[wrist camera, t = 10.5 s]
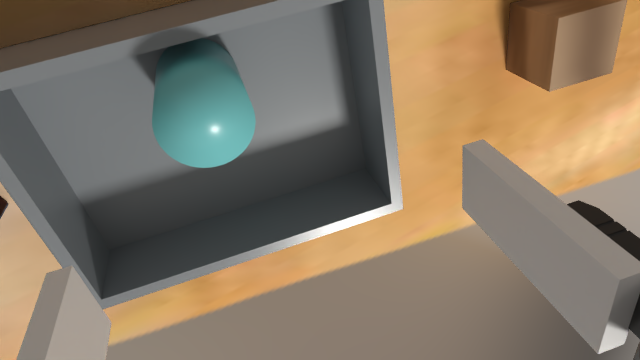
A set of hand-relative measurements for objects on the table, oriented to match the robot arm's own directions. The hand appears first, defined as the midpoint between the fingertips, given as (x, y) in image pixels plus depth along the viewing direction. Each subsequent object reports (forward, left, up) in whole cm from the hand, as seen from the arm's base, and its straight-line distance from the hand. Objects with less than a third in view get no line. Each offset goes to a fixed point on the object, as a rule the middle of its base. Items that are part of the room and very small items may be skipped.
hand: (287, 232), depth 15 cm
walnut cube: (+21, +11, -17) cm, 29 cm away
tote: (0, -4, -17) cm, 18 cm away
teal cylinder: (-2, -1, -17) cm, 17 cm away
